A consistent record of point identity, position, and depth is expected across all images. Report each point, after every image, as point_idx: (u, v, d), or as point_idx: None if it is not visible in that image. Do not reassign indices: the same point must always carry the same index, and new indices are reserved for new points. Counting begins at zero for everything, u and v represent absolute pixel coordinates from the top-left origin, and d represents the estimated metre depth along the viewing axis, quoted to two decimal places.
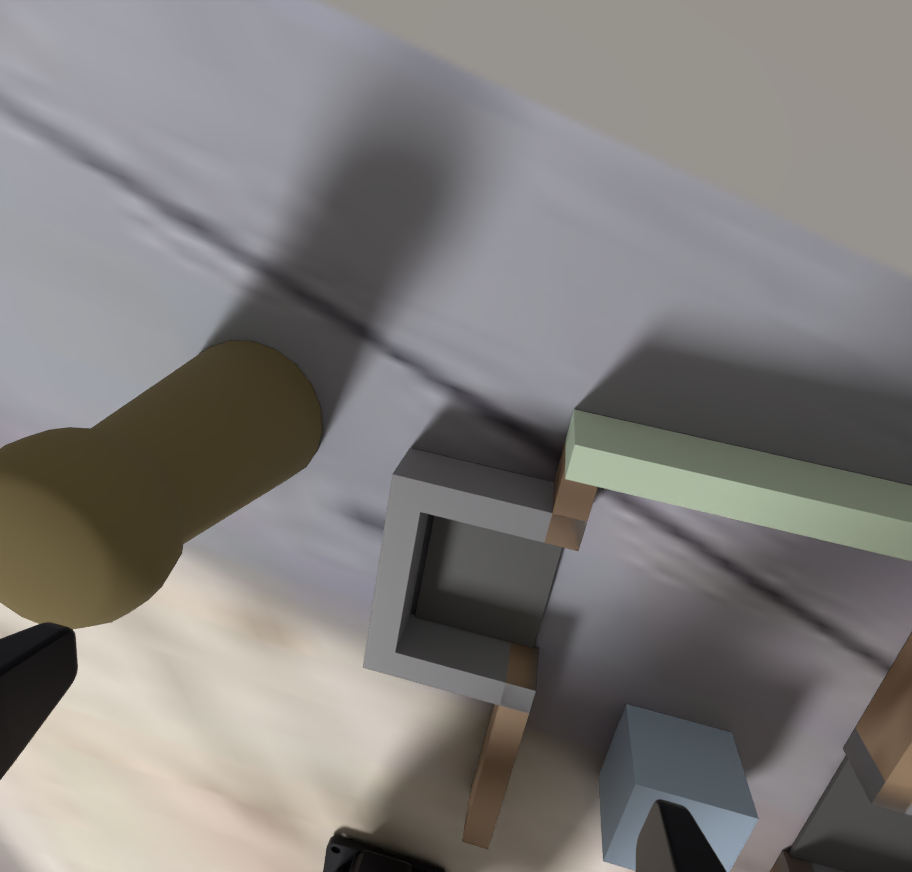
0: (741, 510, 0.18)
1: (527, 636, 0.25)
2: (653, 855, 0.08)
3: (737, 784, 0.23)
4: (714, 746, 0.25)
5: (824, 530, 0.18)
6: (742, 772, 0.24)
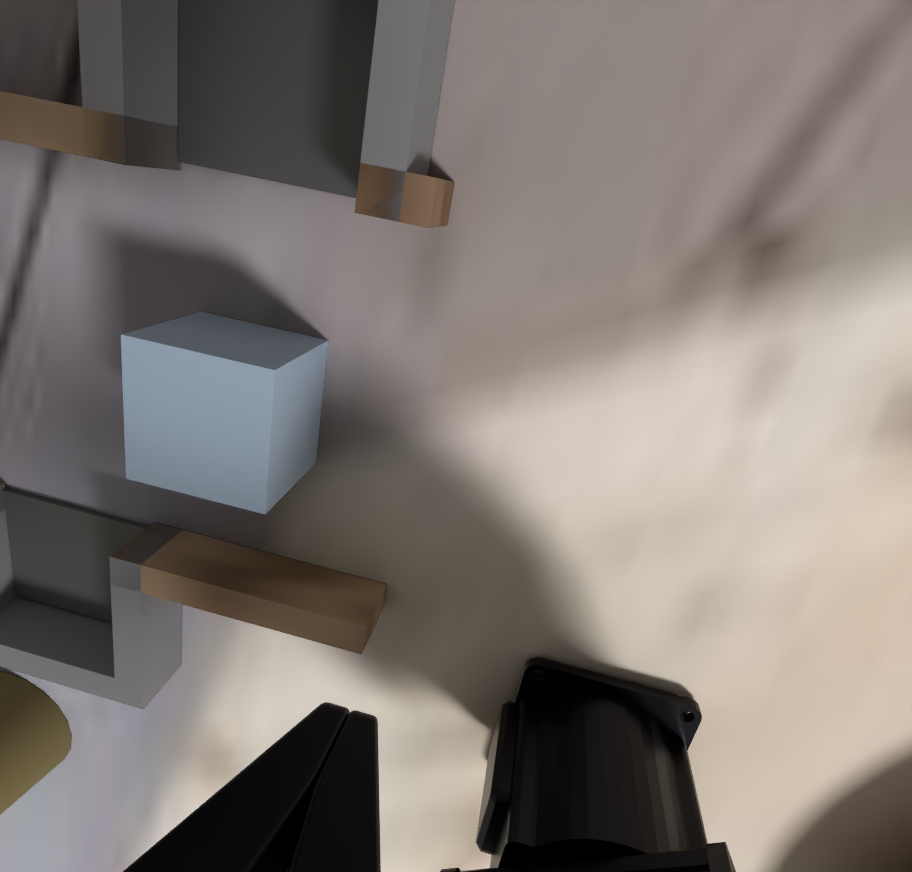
0: None
1: (137, 534, 0.24)
2: None
3: None
4: None
5: None
6: (169, 322, 0.18)
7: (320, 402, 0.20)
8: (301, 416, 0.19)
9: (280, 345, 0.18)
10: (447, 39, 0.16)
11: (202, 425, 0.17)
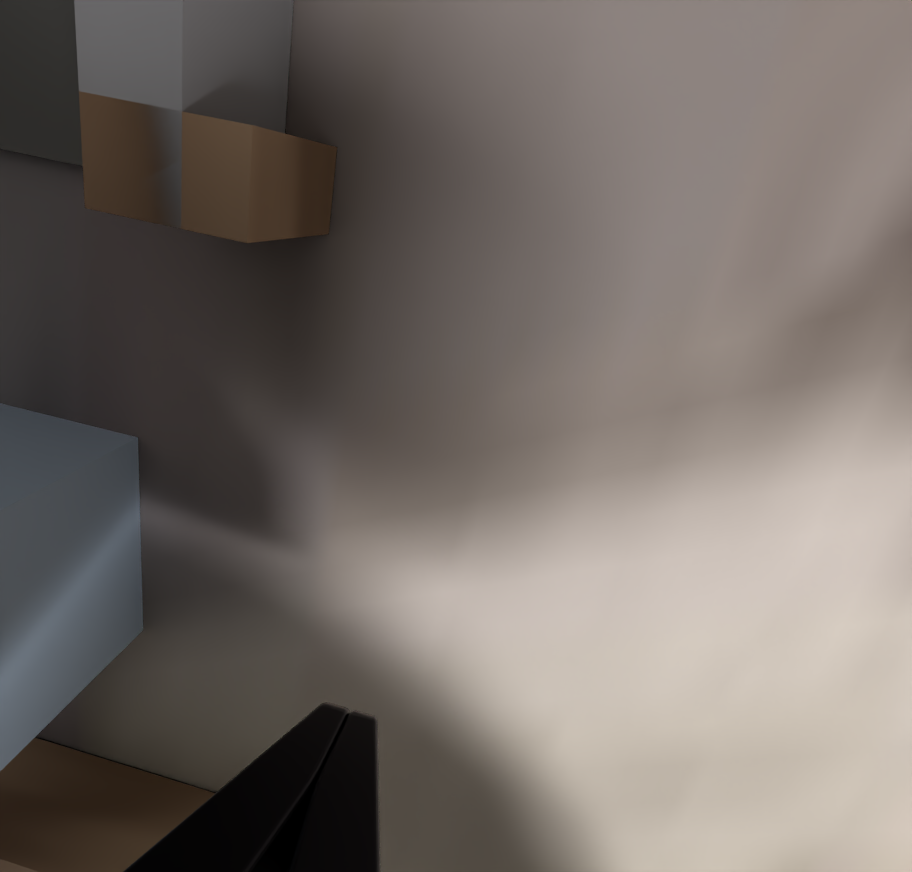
0: None
1: None
2: None
3: None
4: None
5: None
6: None
7: (134, 540, 0.12)
8: (70, 586, 0.10)
9: (17, 461, 0.10)
10: None
11: None
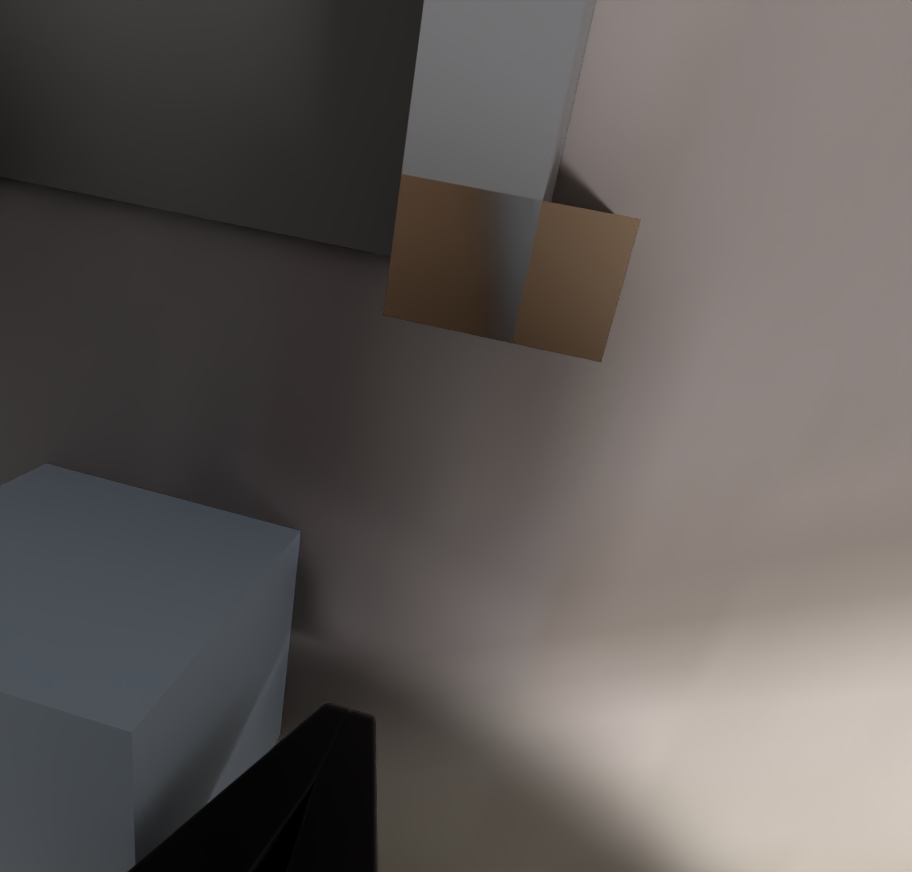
0: None
1: None
2: None
3: None
4: None
5: None
6: None
7: (283, 646, 0.10)
8: (233, 719, 0.09)
9: (181, 578, 0.08)
10: None
11: None
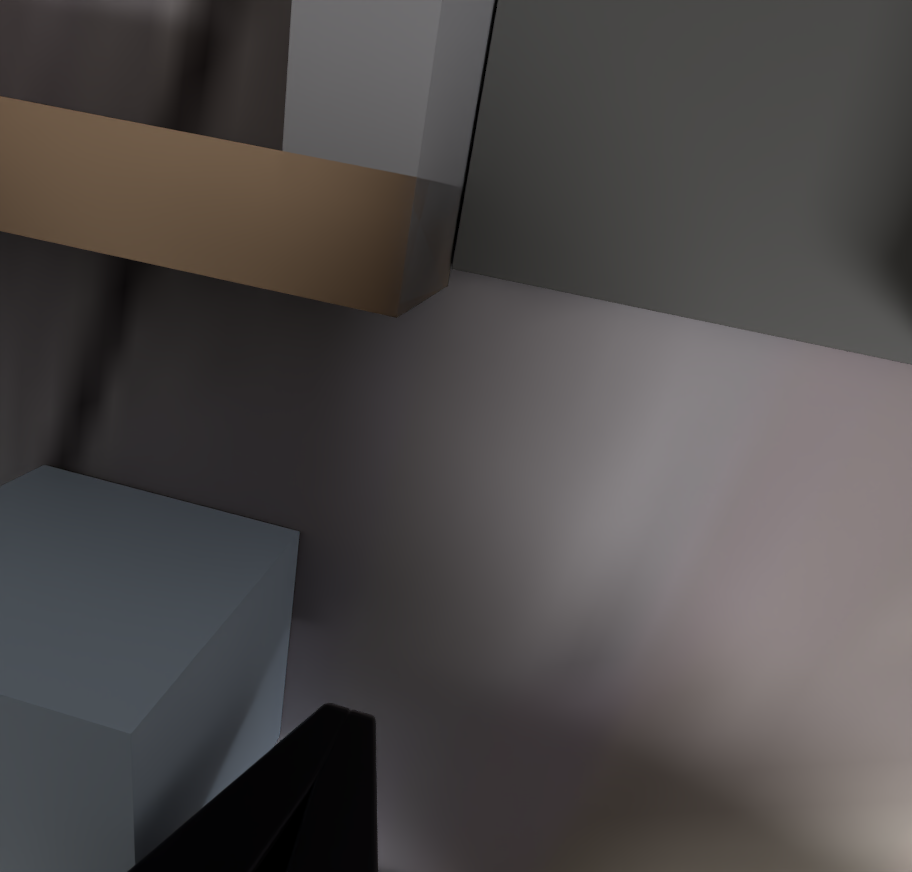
0: None
1: None
2: None
3: None
4: None
5: None
6: None
7: (282, 647, 0.10)
8: (233, 719, 0.09)
9: (181, 580, 0.08)
10: None
11: None
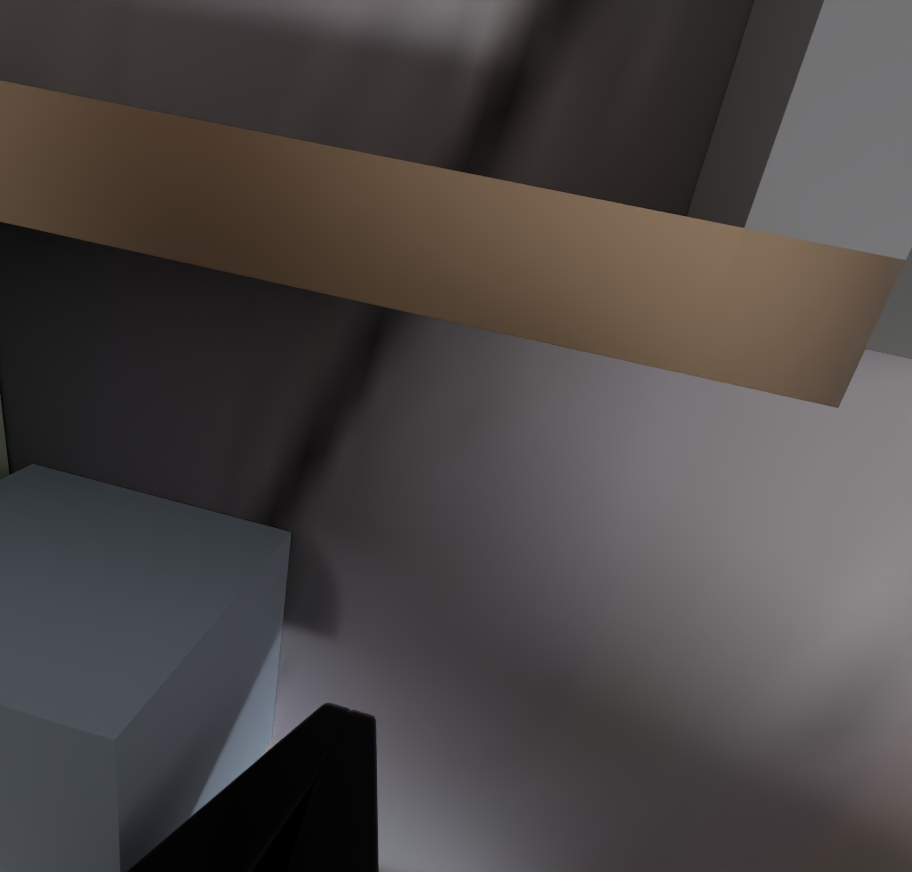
0: None
1: None
2: None
3: None
4: None
5: None
6: None
7: (274, 648, 0.10)
8: (223, 723, 0.08)
9: (170, 581, 0.08)
10: None
11: None
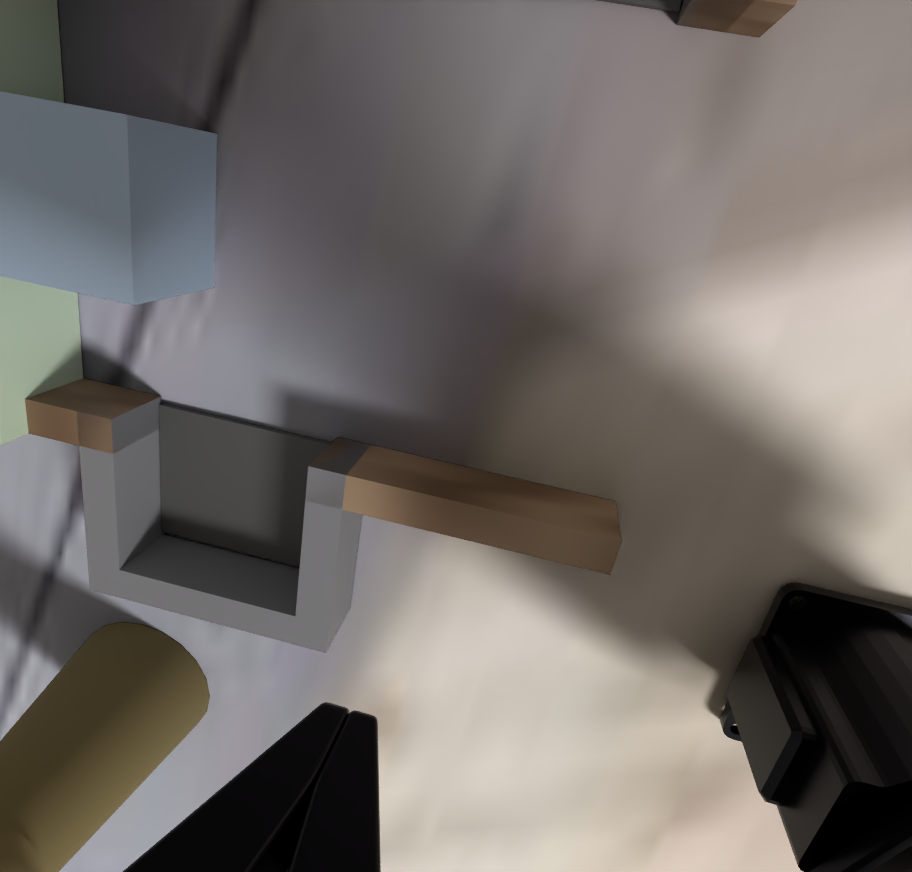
0: None
1: (317, 451, 0.21)
2: None
3: None
4: None
5: None
6: None
7: (212, 210, 0.18)
8: (181, 208, 0.17)
9: None
10: None
11: (55, 194, 0.15)
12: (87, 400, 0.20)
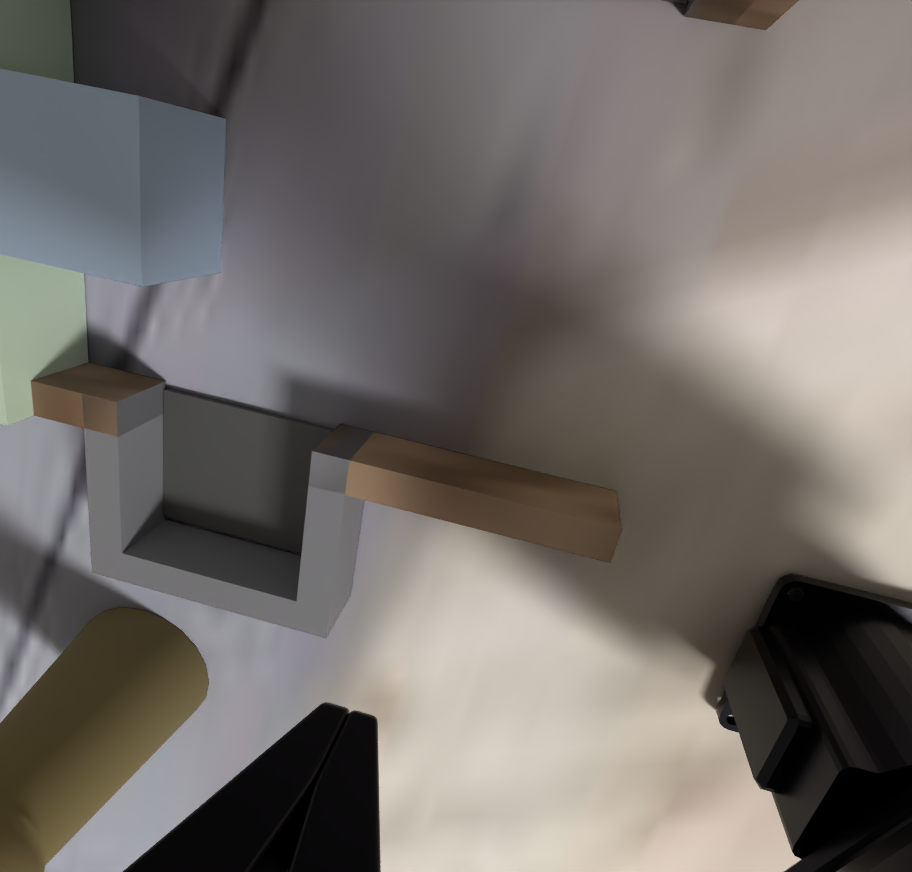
0: None
1: (321, 438, 0.21)
2: None
3: None
4: None
5: None
6: None
7: (220, 195, 0.18)
8: (189, 192, 0.17)
9: None
10: None
11: (65, 175, 0.15)
12: (92, 383, 0.20)
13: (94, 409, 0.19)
